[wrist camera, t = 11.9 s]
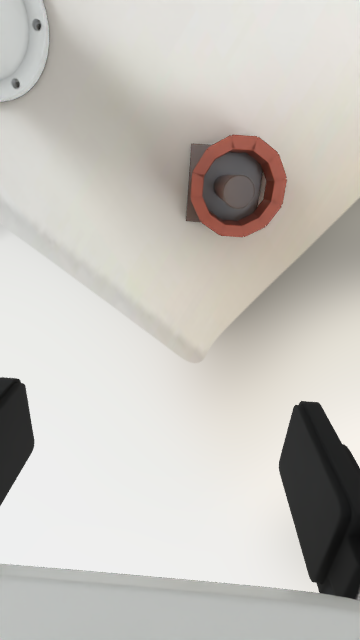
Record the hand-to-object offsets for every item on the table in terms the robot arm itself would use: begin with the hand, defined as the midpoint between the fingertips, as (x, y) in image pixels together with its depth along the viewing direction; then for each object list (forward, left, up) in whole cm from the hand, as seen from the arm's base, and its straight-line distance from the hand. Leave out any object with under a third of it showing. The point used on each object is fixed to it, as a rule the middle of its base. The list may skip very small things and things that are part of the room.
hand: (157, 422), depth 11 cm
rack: (+4, +7, -31) cm, 32 cm away
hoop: (+5, +7, -30) cm, 31 cm away
